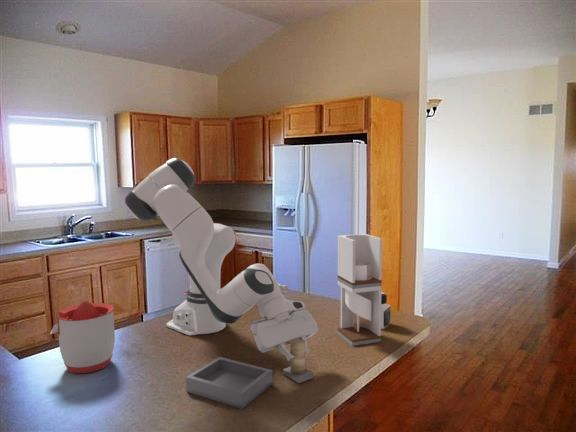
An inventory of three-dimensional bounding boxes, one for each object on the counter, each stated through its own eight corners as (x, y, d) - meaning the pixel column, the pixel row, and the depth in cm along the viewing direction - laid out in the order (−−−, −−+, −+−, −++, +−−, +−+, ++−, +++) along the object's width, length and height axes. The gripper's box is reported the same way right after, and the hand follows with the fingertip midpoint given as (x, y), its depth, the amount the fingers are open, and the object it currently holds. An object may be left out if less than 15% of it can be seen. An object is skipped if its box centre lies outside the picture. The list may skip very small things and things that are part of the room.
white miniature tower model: (337, 333, 154) (337, 235, 150) (364, 329, 157) (365, 233, 153) (352, 345, 143) (352, 240, 139) (380, 341, 146) (382, 238, 143)
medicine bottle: (383, 329, 157) (384, 297, 156) (365, 326, 161) (365, 294, 160) (390, 323, 163) (391, 292, 162) (372, 320, 167) (372, 289, 166)
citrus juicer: (55, 361, 134) (51, 297, 132) (116, 351, 141) (112, 290, 139) (50, 383, 120) (45, 313, 118) (118, 371, 127) (114, 304, 125)
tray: (186, 391, 115) (185, 376, 115) (219, 369, 127) (219, 356, 127) (242, 409, 106) (241, 393, 106) (272, 384, 118) (272, 370, 118)
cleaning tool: (283, 374, 124) (282, 340, 122) (296, 369, 127) (296, 335, 126) (299, 383, 118) (298, 348, 117) (312, 377, 121) (312, 343, 120)
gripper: (251, 316, 119) (274, 362, 113) (307, 301, 132) (330, 341, 126) (243, 327, 123) (264, 372, 117) (298, 311, 136) (319, 351, 130)
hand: (299, 356), depth 121 cm, fingers closed on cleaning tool, 4 cm apart
